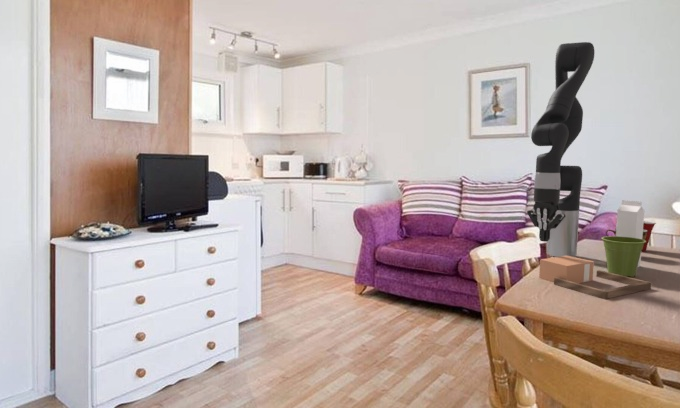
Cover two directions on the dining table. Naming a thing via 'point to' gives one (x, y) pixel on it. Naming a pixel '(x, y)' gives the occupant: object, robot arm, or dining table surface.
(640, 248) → the plant pot
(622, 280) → the tray
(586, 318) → the dining table surface
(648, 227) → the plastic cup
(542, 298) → the dining table surface
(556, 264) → the carton
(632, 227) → the milk
